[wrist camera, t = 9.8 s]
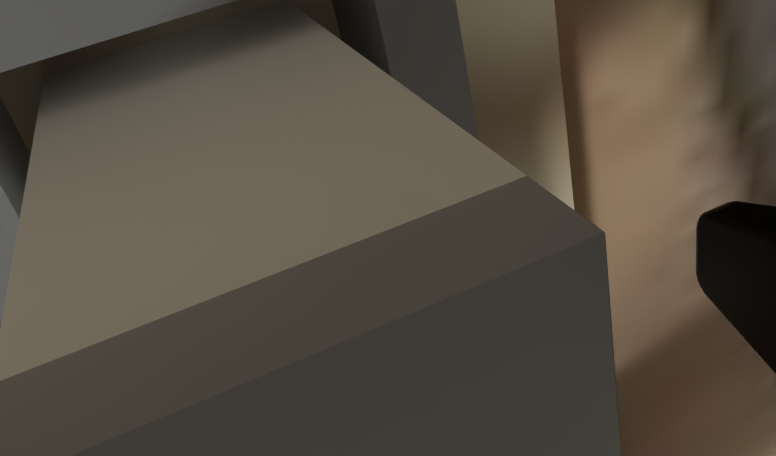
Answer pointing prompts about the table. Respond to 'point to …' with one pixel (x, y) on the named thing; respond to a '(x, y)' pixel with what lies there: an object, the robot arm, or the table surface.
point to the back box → (165, 3)
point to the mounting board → (483, 60)
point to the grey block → (291, 267)
